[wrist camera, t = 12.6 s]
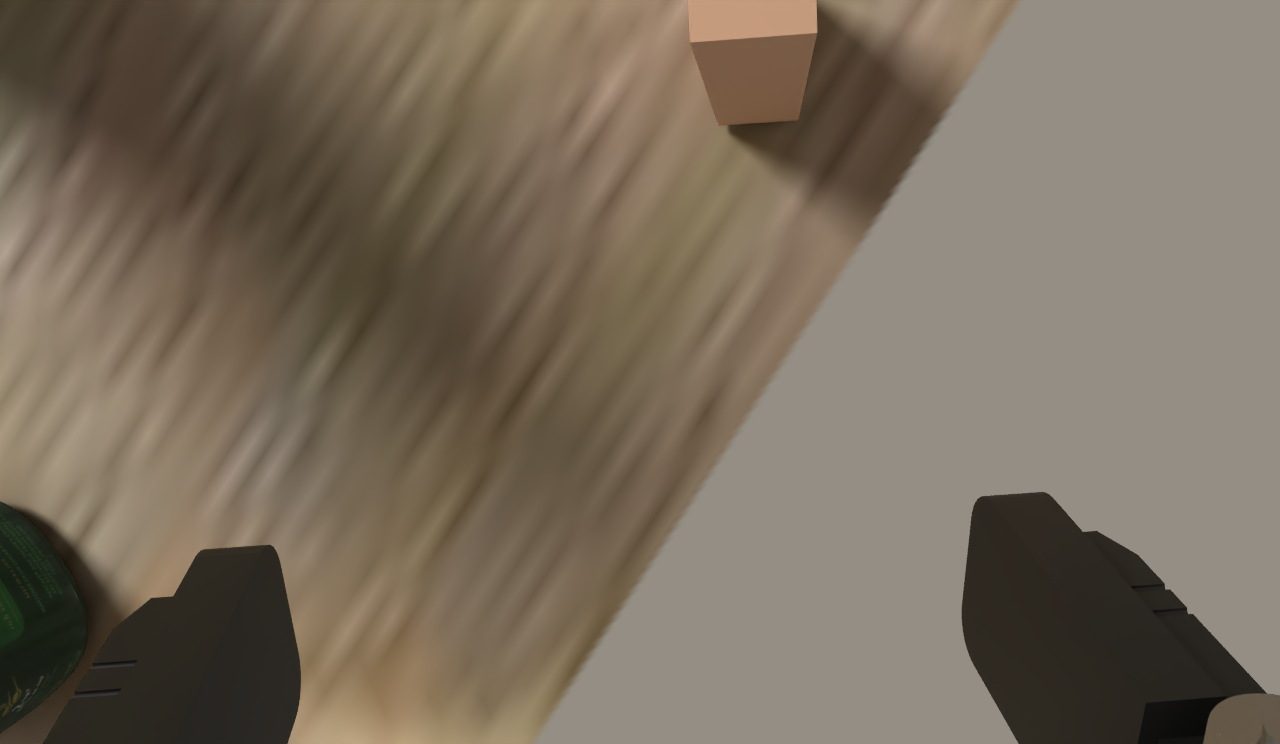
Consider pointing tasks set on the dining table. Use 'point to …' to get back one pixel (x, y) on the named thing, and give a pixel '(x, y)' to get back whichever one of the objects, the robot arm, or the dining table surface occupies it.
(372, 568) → the dining table surface
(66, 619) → the coffee jar
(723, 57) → the rectangular block
